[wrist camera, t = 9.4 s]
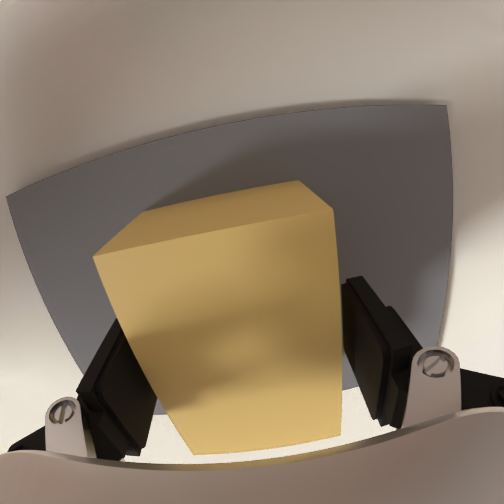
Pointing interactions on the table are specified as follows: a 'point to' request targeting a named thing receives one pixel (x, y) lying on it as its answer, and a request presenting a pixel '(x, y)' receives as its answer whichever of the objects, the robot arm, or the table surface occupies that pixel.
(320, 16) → the table surface
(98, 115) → the table surface
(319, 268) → the box
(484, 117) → the table surface
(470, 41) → the table surface
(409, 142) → the mat
